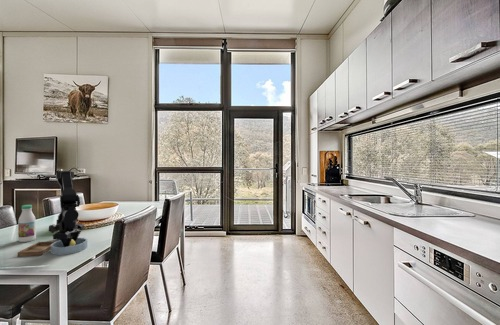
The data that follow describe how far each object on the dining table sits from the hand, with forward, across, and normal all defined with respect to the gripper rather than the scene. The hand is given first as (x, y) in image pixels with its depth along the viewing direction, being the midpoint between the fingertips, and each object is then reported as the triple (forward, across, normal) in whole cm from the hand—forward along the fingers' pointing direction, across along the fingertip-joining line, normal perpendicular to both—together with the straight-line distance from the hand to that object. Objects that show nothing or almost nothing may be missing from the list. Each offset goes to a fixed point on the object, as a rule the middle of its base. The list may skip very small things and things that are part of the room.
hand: (69, 247), depth 137 cm
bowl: (+1, 0, 0) cm, 1 cm away
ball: (+1, 0, 0) cm, 1 cm away
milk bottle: (+1, -20, -32) cm, 38 cm away
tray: (+1, 0, -14) cm, 14 cm away
